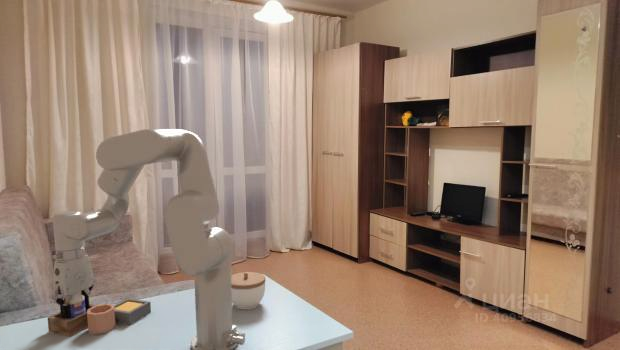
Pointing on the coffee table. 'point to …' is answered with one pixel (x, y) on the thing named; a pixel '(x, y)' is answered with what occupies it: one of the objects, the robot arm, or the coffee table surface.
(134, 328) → the coffee table surface
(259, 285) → the lidded bowl
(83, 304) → the pill bottle
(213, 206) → the robot arm
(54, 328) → the trough
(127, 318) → the grey square tray
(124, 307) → the pad
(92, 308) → the octagonal terracotta pot
